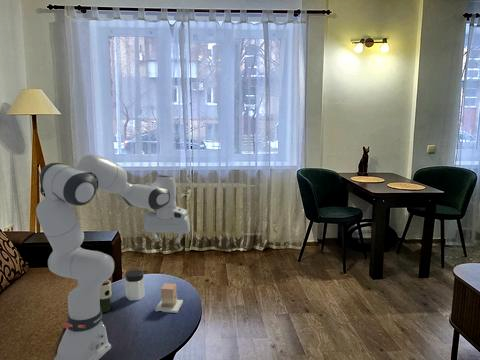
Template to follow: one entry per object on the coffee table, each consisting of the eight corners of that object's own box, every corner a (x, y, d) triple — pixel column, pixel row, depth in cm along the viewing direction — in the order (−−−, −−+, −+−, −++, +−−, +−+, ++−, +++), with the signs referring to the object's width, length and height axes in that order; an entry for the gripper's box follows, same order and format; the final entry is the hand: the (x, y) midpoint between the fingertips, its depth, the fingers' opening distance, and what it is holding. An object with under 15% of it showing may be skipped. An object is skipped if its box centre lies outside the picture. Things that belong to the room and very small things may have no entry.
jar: (147, 298, 195) (146, 274, 193) (130, 302, 190) (129, 278, 188) (140, 290, 202) (139, 268, 200) (123, 295, 198) (122, 271, 195)
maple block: (173, 307, 184) (173, 298, 183) (161, 307, 185) (161, 297, 184) (177, 302, 189) (176, 293, 188) (165, 301, 190) (165, 292, 189)
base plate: (177, 312, 181) (177, 310, 181) (155, 311, 183) (155, 309, 183) (183, 302, 191) (182, 300, 191) (162, 300, 192) (162, 298, 192)
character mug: (105, 317, 178) (103, 289, 175) (90, 315, 179) (88, 287, 176) (117, 304, 188) (115, 278, 186) (103, 303, 190) (101, 277, 187)
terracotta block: (173, 298, 183) (173, 289, 182) (161, 298, 183) (161, 288, 183) (176, 292, 188) (176, 283, 187) (164, 292, 189) (164, 283, 188)
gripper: (140, 212, 176) (142, 243, 179) (187, 214, 174) (187, 245, 177) (146, 208, 183) (147, 238, 185) (190, 210, 180) (191, 240, 183)
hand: (167, 241), depth 181 cm, fingers open, 8 cm apart
